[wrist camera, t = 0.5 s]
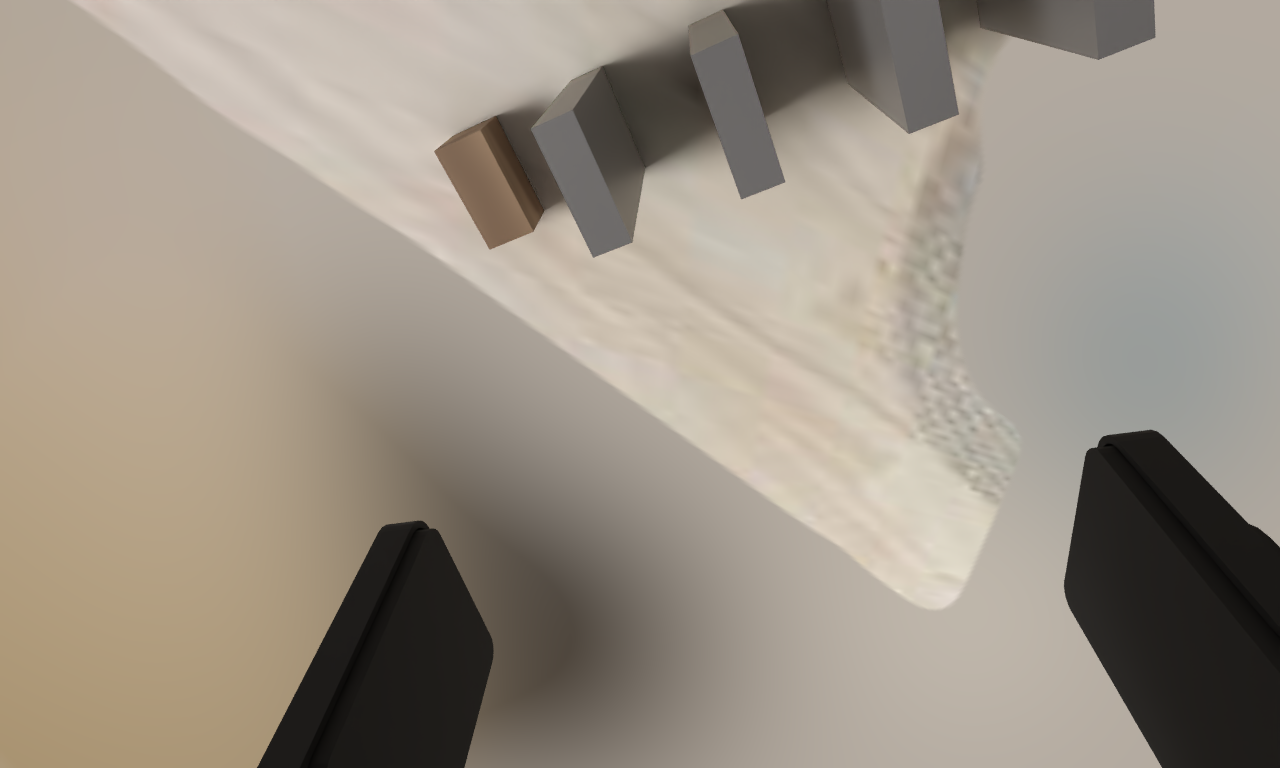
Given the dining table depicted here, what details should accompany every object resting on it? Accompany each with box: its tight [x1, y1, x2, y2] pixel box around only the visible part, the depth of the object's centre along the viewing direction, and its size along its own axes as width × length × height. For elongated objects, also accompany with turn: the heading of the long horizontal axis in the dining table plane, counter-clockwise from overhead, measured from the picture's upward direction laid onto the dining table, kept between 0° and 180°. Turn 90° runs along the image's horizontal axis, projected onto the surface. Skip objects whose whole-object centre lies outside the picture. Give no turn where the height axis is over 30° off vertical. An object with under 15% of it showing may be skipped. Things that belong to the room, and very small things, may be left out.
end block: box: [434, 116, 544, 249], centre depth 33 cm, size 2×5×3 cm, turn 23°
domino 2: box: [688, 10, 785, 199], centre depth 27 cm, size 2×5×10 cm, turn 23°
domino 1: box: [531, 66, 645, 258], centre depth 29 cm, size 2×5×10 cm, turn 23°
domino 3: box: [827, 0, 959, 134], centre depth 26 cm, size 2×5×10 cm, turn 23°
